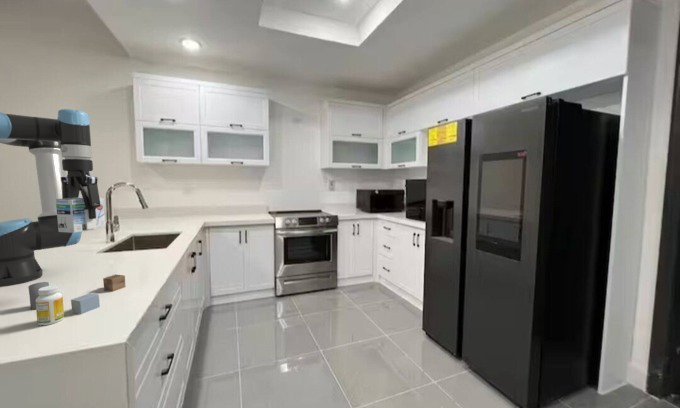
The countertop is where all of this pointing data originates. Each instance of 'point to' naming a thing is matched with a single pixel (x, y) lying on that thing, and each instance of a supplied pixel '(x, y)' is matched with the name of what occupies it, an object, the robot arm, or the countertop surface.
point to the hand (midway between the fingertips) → (83, 227)
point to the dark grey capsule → (35, 293)
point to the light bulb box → (77, 215)
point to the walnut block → (114, 282)
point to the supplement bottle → (49, 305)
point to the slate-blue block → (85, 303)
